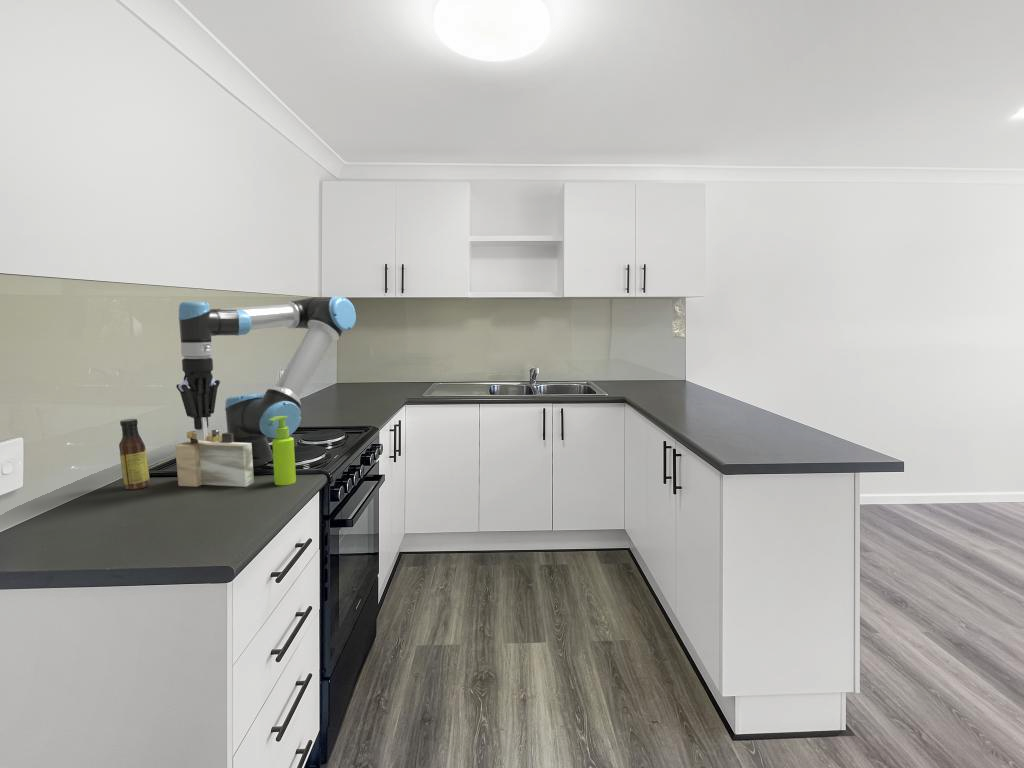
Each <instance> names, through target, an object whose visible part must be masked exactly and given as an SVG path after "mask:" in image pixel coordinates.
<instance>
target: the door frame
mask: <svg viewBox="0 0 1024 768" xmlns="http://www.w3.org/2000/svg"><path fill="white" fill-rule="evenodd" d="M221 435H222V441H219V442H209V441H200V440H197V439H190V438H189V439H190V440H188V441H185V442H182V443H179V444H175V446H174V448H175V458H176V470H177V471H176V472H177V482H178V486H179V487H194V488H195V487H199V486H202V485H203V486H223V487H248V486H250V485H252V484H254V483H255V479H254V478H255V477H254V476H255V475H254V467H253V459H252V443H238V442H234V436H233V433H227V432H223V433H221Z"/></svg>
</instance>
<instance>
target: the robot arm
mask: <svg viewBox="0 0 1024 768" xmlns="http://www.w3.org/2000/svg"><path fill="white" fill-rule="evenodd" d="M178 320H179V321H178V324H179V335H180V336H179V337H180V350H181V351H180V352H181V353H180V354H181V357H183V358H182V360H181V368H182V371H183V373H184V377H183V381H182V382H181V383H179V384H176V386H175V387H176V389H177V390H178V392H179V393H180V397H181V400H182V404H183V407H184V410H185V414H186V416H187V417H188V418H192V419H193V427H194V430H195V431H196V435H197V440H200V441H206V440H207V436H208V435H207V433H208V428H209V418H211V417H212V415H213V414H214V413H215V409H216V408H215V407H216V401H217V394H218V388H219V386H220V385H221V384H220V383H221V381H220V379H215V378H214V377H213V376H214V375H213V373H212V371H213V370H214V363H213V362H214V361H213V358H212V355H213V350H212V349H213V348H212V347H213V346H212V337H216V336H244V335H247V334H248V333H249V332H251V331H252V330H261V329H272V328H282V327H286V328H287V329H291V330H292V329H308V330H307V332H306V334H305V335H304V337H303V339H302V340H301V342H300V343H299V345H298V347H297V349H296V351H295V352H294V354H293V355H292V358H291V359H290V360H289V362H288V364H287V365H286V368H285V369H284V371H283V372H282V374H281V376H280V378H279V379H278V380H277V383H275V386H273V387H269V388H268V389H267V390H266V391H265V393H262V392H258V393H249V394H242V395H241V394H240V395H234V396H229V397H227V398H226V399H225V408H224V410H225V418H226V420H225V421H226V433H233V436H234V442H238V443H252V459H253V468H257V467H261V466H262V467H263V466H265V465H266V464H265V463H266V462H269V461H271V460H272V459H273V450H272V449H271V448H272V447H271V446H270V444H269V441H268V439H267V437H268V438H271V439H275V438H277V434H276V428H277V427H278V426H279V420H276V421H269V419H271V418H273V417H276V416H288V418H286V419H285V426H287V427H289V436H290V435H292V434H294V432H296V430H297V429H298V427H299V426H300V423H301V420H302V417H301V415H302V412H301V410H300V409H301V408H302V403H301V398H302V396H303V394H304V392H305V390H306V389H307V387H308V385H309V384H310V382H311V380H312V378H313V376H314V374H315V372H316V371H317V369H318V368H319V365H320V364H321V363H322V360H323V358H324V357H325V355H326V353H327V352H328V350H329V348H330V346H331V344H332V342H336V341H339V340H340V337H341V336H342V334H343V333H344V332H347V331H349V330H351V329H353V327H354V326H355V324H356V320H357V313H356V310H355V307H354V304H353V303H352V302H351V300H349V299H348V298H346V297H342V296H337V295H335V296H329V297H328V296H313V297H308V298H303V299H297V300H291V301H289V300H288V301H285V302H284V303H283V304H272V305H256V306H254V305H253V306H240V307H239V306H238V307H224V308H210V303H208V302H207V301H206V302H204V301H183V302H181V303H179V306H178ZM264 464H265V465H264Z"/></svg>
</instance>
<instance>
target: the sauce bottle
mask: <svg viewBox="0 0 1024 768" xmlns="http://www.w3.org/2000/svg"><path fill="white" fill-rule="evenodd" d="M119 424H120V426H121V431H122V433H121V435H122V437H121V440H120V441H119V444H118V446H119V447H118V448H119V459H120V465H121V472H122V480H123V485H124V488H125V489H126V490H130V491H133V490H139V489H140V490H141V489H144V488H146V487H149V486H150V473H149V471H150V470H149V465H148V464H149V463H148V456H147V448H146V444H145V443H144V441H143V440H142V438H141V436H140V433H139V430H138V424H139V421H138V419H137V418H125V419H122V420H120V421H119Z"/></svg>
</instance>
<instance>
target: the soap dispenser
mask: <svg viewBox="0 0 1024 768" xmlns="http://www.w3.org/2000/svg"><path fill="white" fill-rule="evenodd" d="M286 418H288V416H276V417H273V418H271V419H269V421H276V420H279V426H278V427H277V428H276V434H277V438H272V440H271V441H272V442H271V443H272V453H273V461H272V462H273V476H274V477H273V478H274V485H276V486H290V485H292V484H295V483H296V482H297V477H296V476H297V473H296V471H297V470H296V459H295V457H296V456H295V439H294V437H290V435H289V427H287V426H285V419H286Z"/></svg>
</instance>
